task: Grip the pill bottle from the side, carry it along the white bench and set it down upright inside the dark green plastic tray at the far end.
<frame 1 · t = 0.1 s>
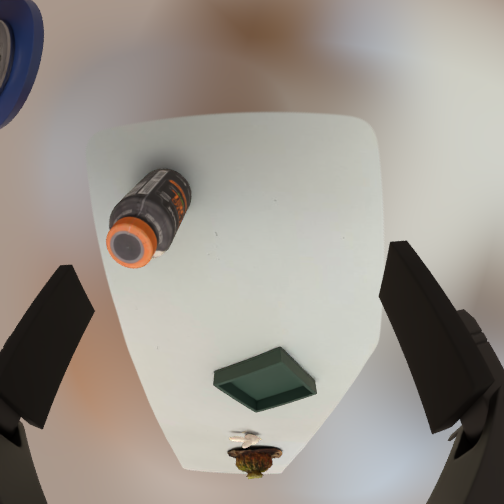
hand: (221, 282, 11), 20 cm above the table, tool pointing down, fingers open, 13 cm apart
pill bottle: (166, 192, 30), on the table
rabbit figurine: (245, 431, 64), on the table
tray: (266, 377, 48), on the table
cactus: (254, 452, 75), on the table
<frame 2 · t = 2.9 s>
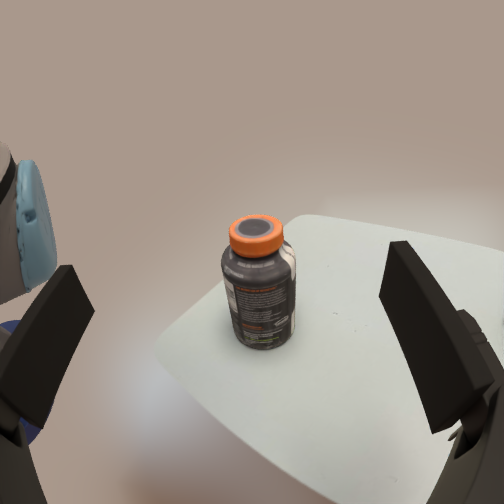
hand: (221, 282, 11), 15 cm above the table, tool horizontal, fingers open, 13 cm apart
pill bottle: (264, 327, 28), on the table
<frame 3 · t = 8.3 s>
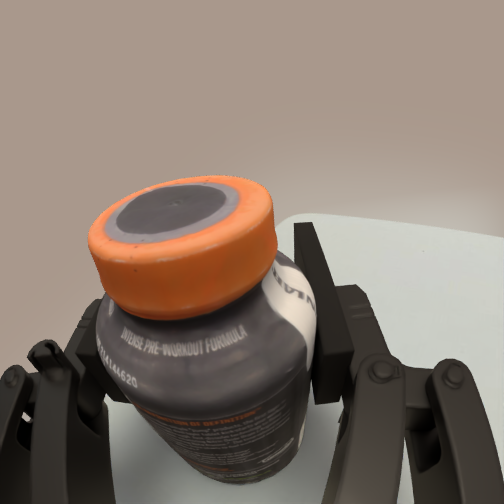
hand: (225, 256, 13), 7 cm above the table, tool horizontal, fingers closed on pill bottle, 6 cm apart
pill bottle: (240, 431, 12), on the table, touching gripper
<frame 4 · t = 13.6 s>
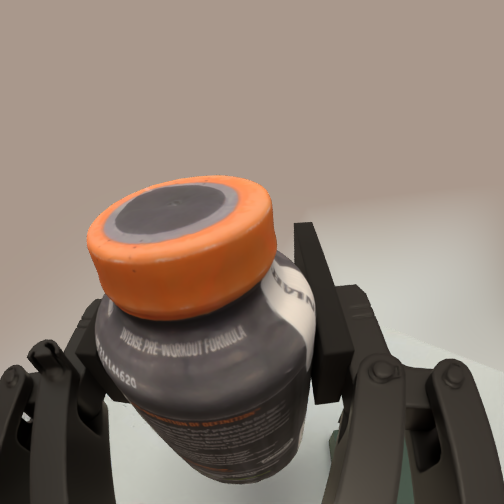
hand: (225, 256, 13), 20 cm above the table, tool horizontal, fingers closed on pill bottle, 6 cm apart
pill bottle: (239, 431, 12), point 14 cm above the table, touching gripper
tray: (406, 484, 16), on the table
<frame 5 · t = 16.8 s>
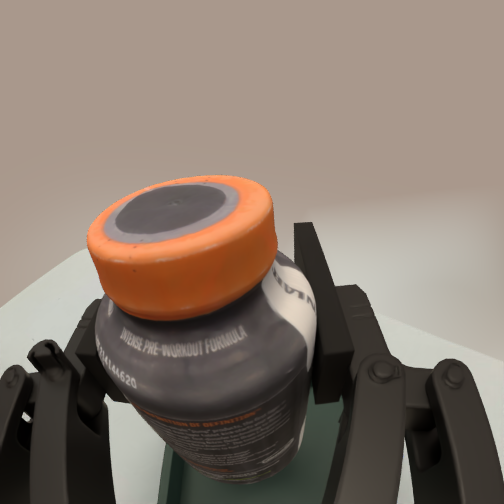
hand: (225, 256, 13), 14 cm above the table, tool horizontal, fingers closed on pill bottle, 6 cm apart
pill bottle: (240, 432, 12), point 7 cm above the table, touching gripper
tray: (272, 463, 16), on the table
when the fingers open (7 cm above the table, at t = 19.0 s): pill bottle stays where it is, resting on tray.
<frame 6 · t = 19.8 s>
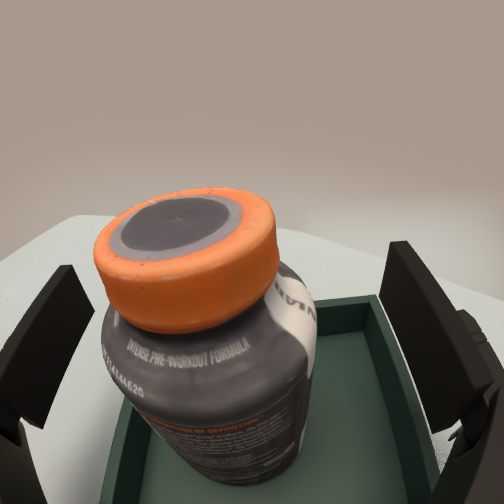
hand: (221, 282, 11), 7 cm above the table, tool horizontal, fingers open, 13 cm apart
pill bottle: (241, 434, 12), resting on tray
tray: (270, 434, 12), on the table
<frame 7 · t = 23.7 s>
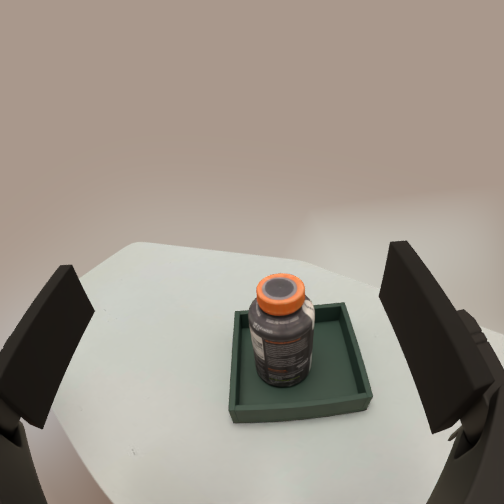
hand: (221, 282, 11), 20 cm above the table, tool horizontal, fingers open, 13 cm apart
pill bottle: (283, 366, 30), resting on tray
tray: (295, 367, 30), on the table
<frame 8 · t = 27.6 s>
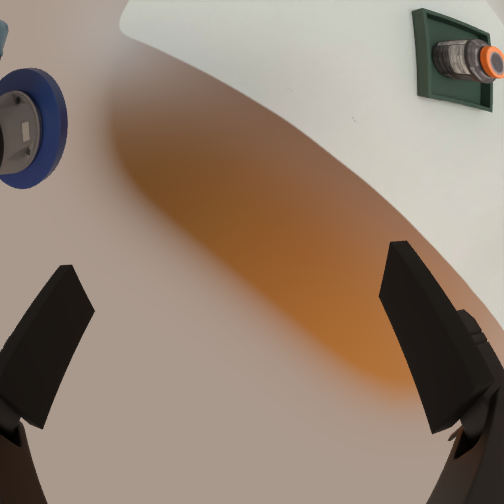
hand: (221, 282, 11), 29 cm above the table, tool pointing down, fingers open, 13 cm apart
pill bottle: (445, 59, 26), resting on tray
tray: (451, 61, 27), on the table
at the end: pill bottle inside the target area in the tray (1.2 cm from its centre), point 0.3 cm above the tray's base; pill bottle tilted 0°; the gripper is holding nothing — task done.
